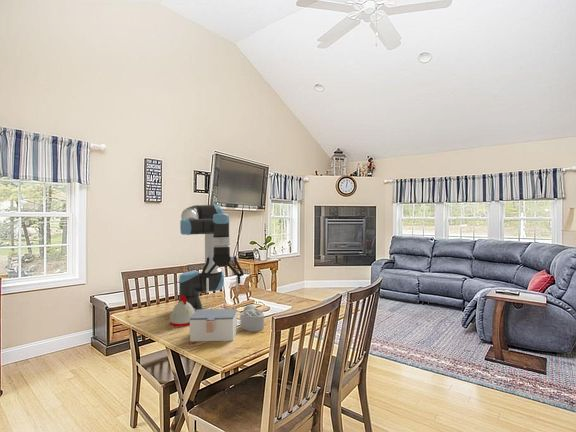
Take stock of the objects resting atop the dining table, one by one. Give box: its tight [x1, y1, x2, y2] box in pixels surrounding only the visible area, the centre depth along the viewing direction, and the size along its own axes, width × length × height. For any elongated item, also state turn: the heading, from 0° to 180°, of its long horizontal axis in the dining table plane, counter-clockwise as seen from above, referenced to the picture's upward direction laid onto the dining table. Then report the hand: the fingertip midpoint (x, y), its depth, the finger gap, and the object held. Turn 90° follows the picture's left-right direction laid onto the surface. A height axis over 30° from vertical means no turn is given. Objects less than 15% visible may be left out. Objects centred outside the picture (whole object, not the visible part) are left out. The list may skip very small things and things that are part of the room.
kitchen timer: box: [169, 295, 196, 328], centre depth 189 cm, size 14×14×15 cm
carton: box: [189, 311, 238, 342], centre depth 168 cm, size 14×20×10 cm
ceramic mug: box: [242, 304, 258, 312], centre depth 193 cm, size 11×8×8 cm
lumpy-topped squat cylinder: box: [240, 308, 265, 332], centre depth 180 cm, size 10×13×9 cm
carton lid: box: [190, 308, 238, 333], centre depth 166 cm, size 18×20×6 cm
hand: (222, 291), depth 162 cm, fingers open, 13 cm apart
